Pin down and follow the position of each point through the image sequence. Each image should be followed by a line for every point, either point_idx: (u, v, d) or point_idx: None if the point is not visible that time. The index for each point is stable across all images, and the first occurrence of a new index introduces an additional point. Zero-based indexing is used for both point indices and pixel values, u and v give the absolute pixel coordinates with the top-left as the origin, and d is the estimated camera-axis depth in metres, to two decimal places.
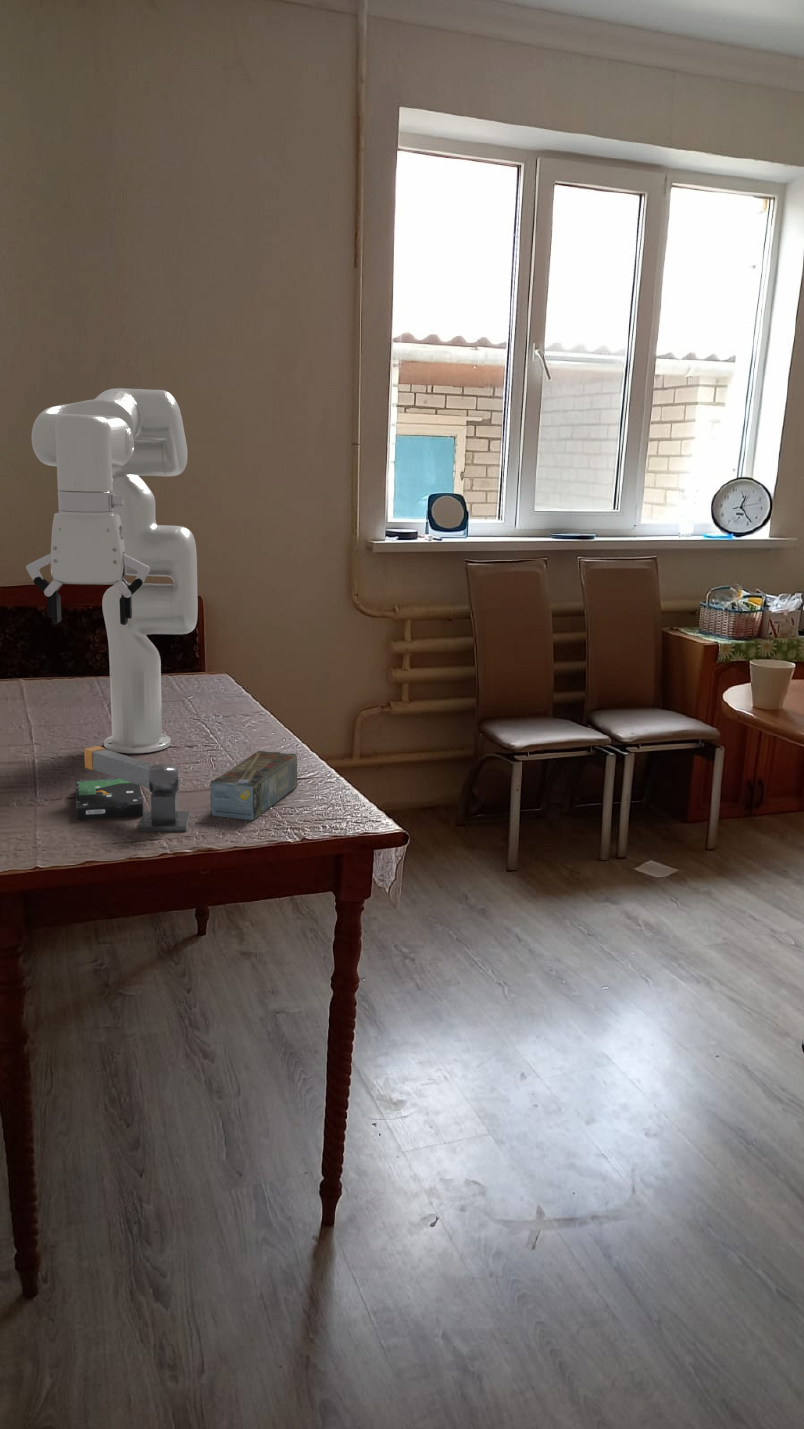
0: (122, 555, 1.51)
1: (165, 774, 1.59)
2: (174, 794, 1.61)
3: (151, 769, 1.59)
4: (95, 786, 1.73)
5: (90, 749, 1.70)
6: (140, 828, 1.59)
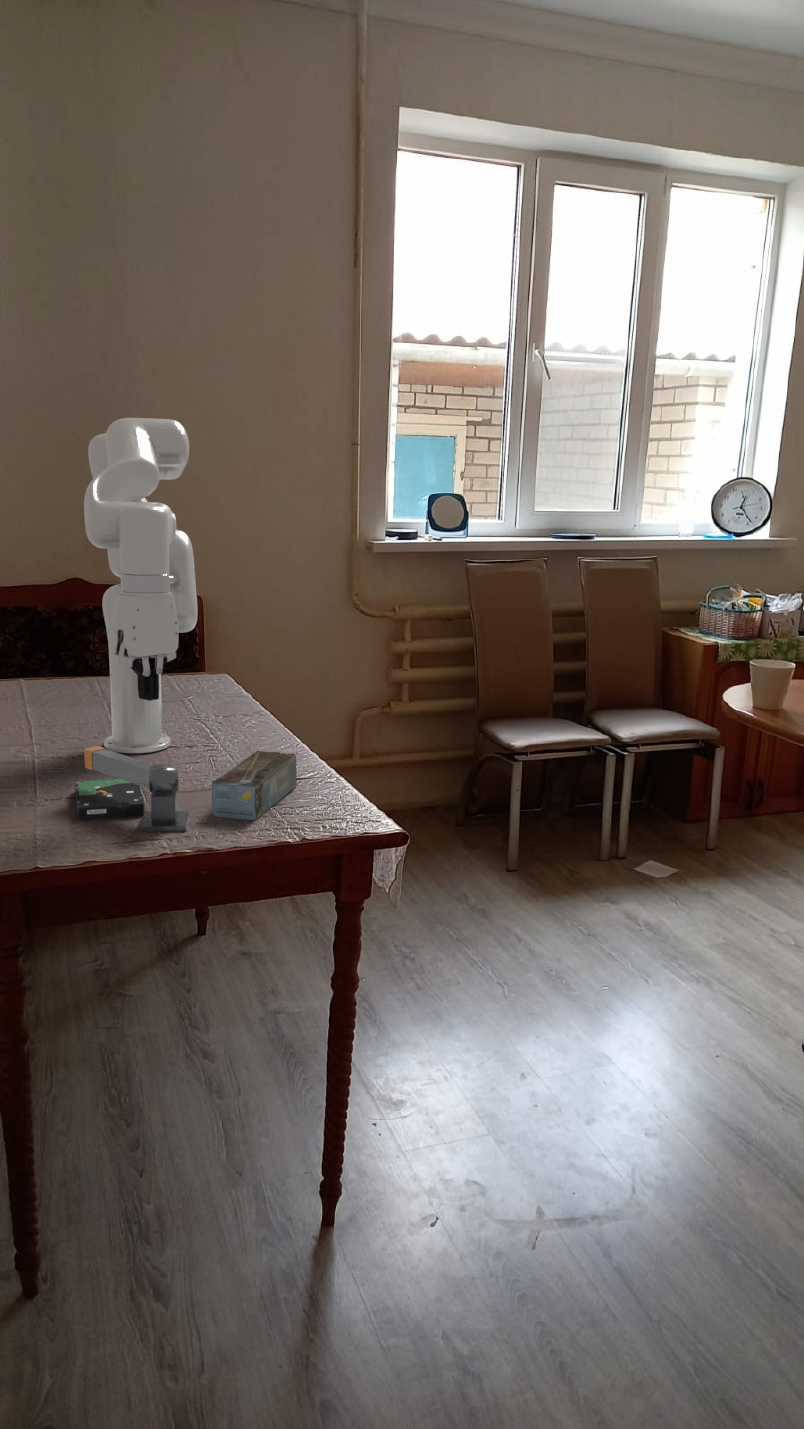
0: None
1: (165, 774, 1.59)
2: (174, 794, 1.61)
3: (151, 769, 1.59)
4: (95, 786, 1.73)
5: (90, 749, 1.70)
6: (140, 828, 1.59)
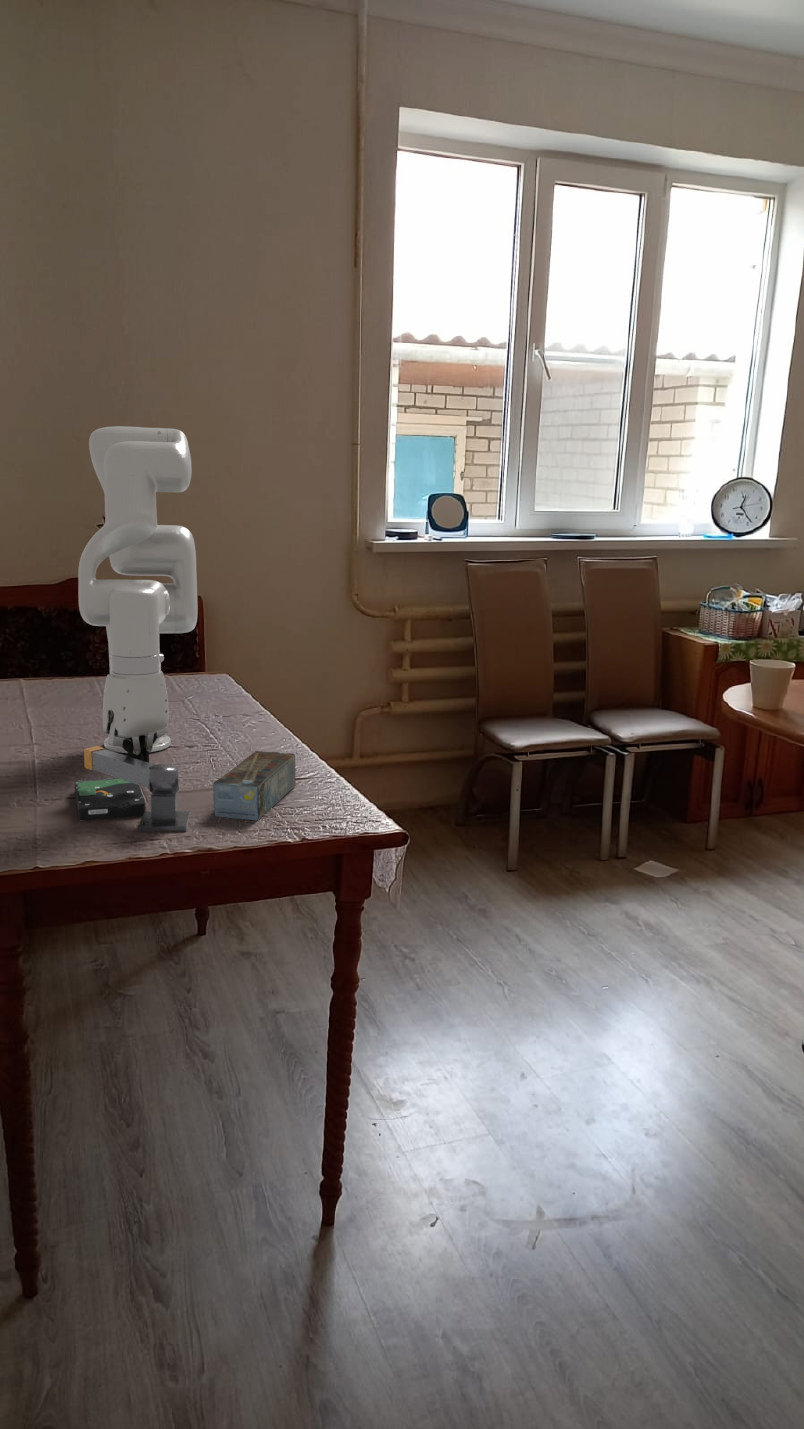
0: None
1: (165, 774, 1.59)
2: (174, 794, 1.61)
3: (151, 769, 1.59)
4: (94, 787, 1.73)
5: (90, 749, 1.70)
6: (140, 828, 1.59)
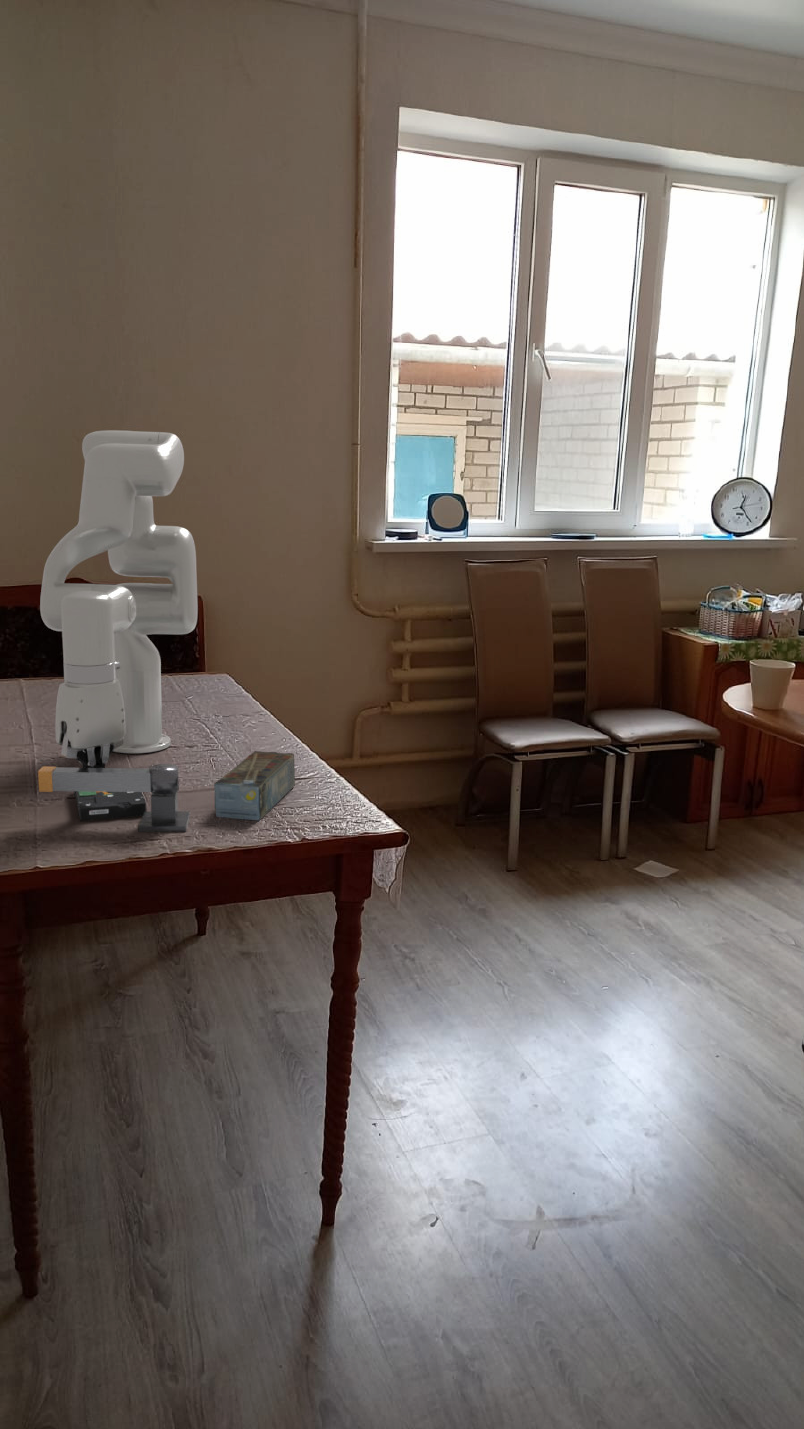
0: None
1: (175, 772, 1.60)
2: (174, 794, 1.61)
3: (157, 771, 1.59)
4: None
5: (46, 770, 1.59)
6: (140, 828, 1.59)
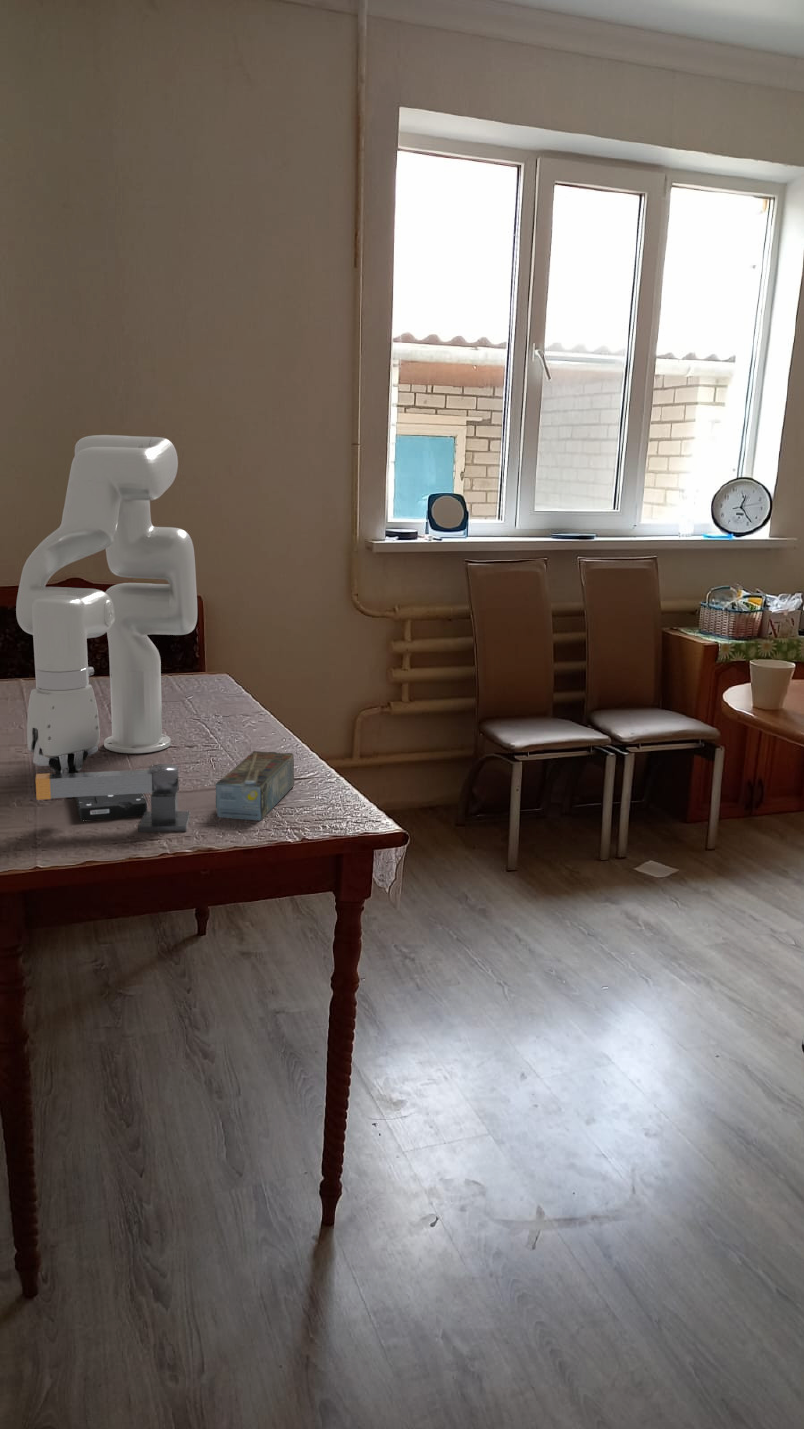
0: None
1: (176, 772, 1.60)
2: (174, 794, 1.61)
3: (160, 771, 1.58)
4: None
5: (43, 777, 1.55)
6: (140, 828, 1.59)
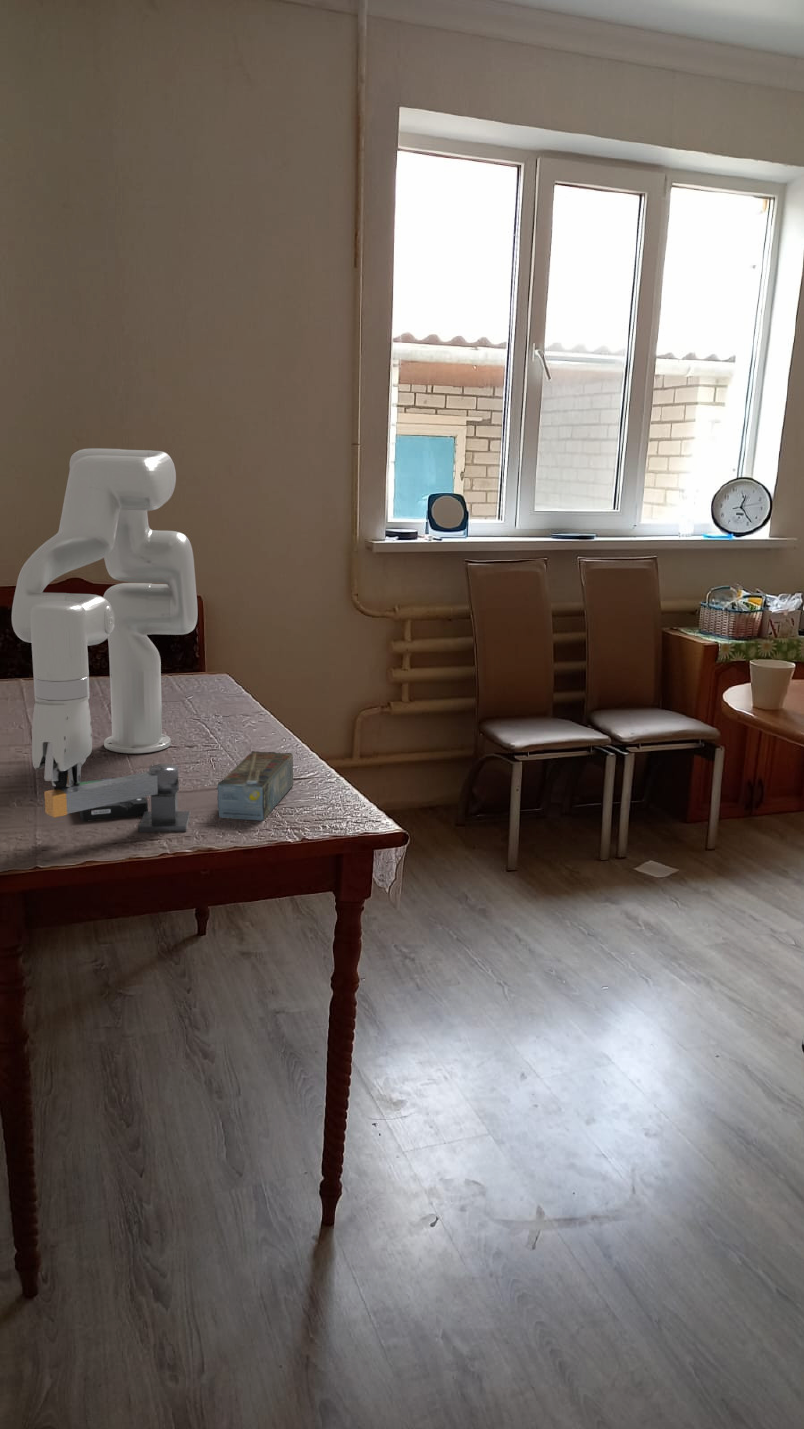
0: None
1: None
2: (174, 794, 1.61)
3: (166, 771, 1.59)
4: None
5: (59, 793, 1.48)
6: (140, 828, 1.59)
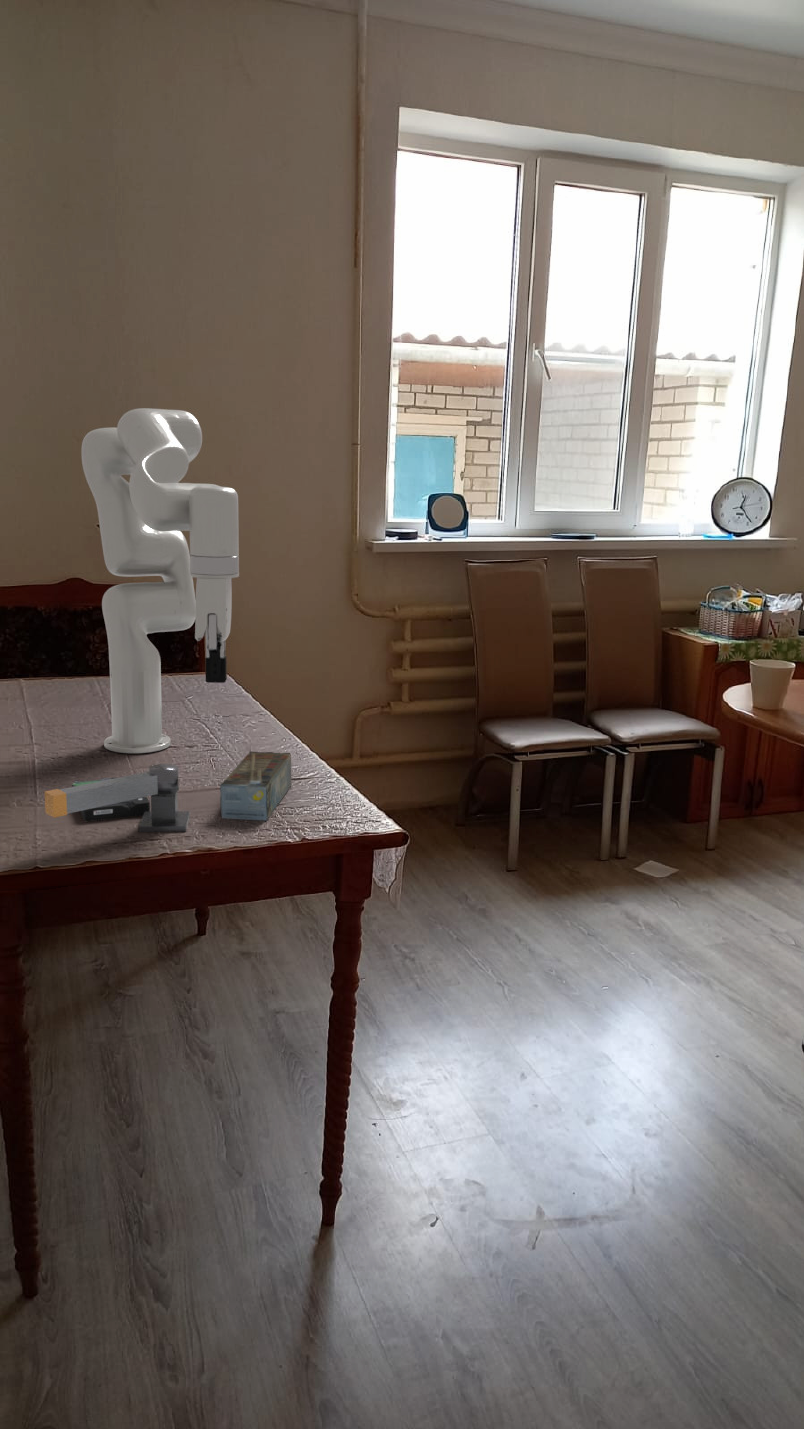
0: None
1: None
2: (174, 794, 1.61)
3: (166, 771, 1.59)
4: None
5: (59, 793, 1.48)
6: (140, 828, 1.59)
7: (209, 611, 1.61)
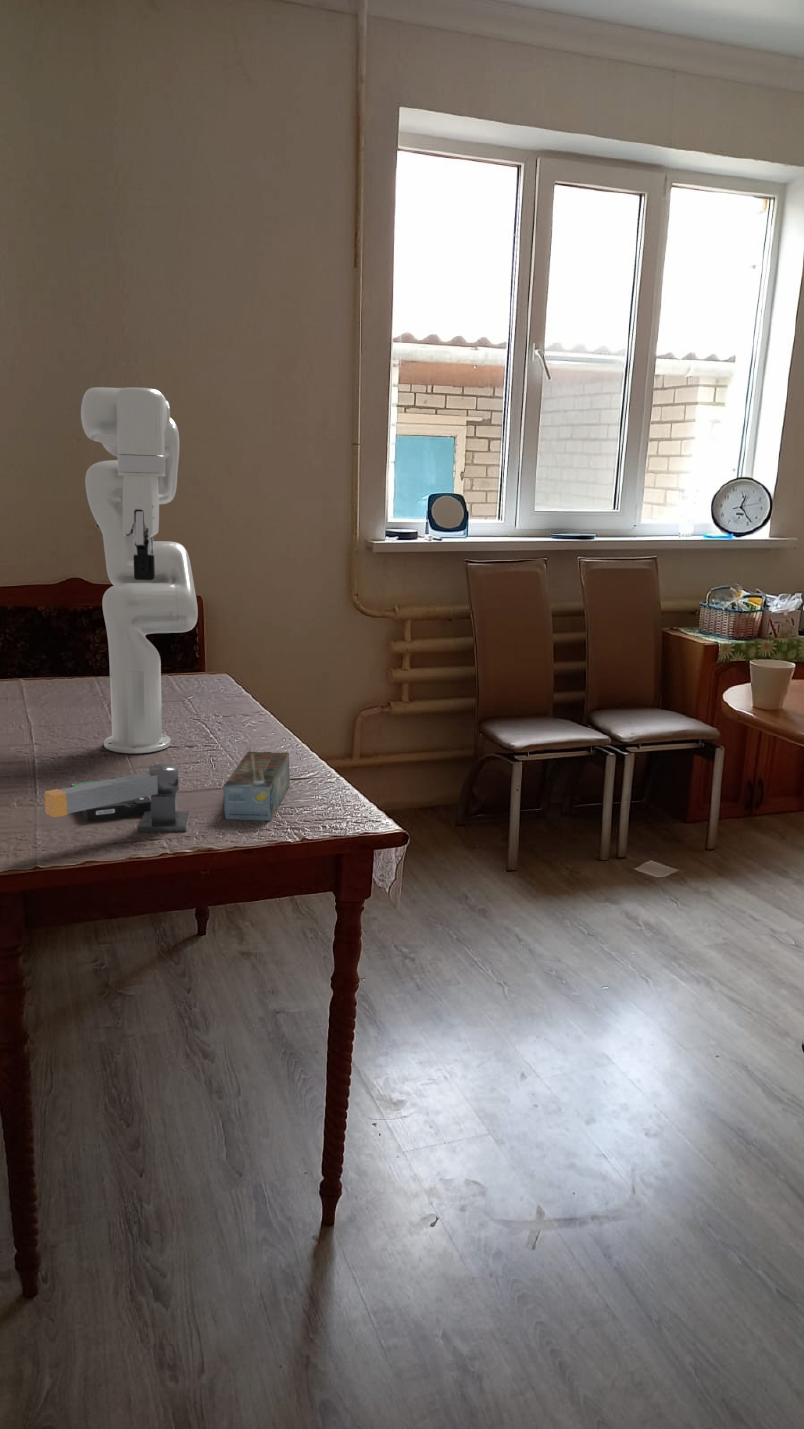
0: None
1: None
2: (174, 794, 1.61)
3: (166, 771, 1.59)
4: None
5: (59, 793, 1.48)
6: (140, 828, 1.59)
7: (136, 507, 1.68)
